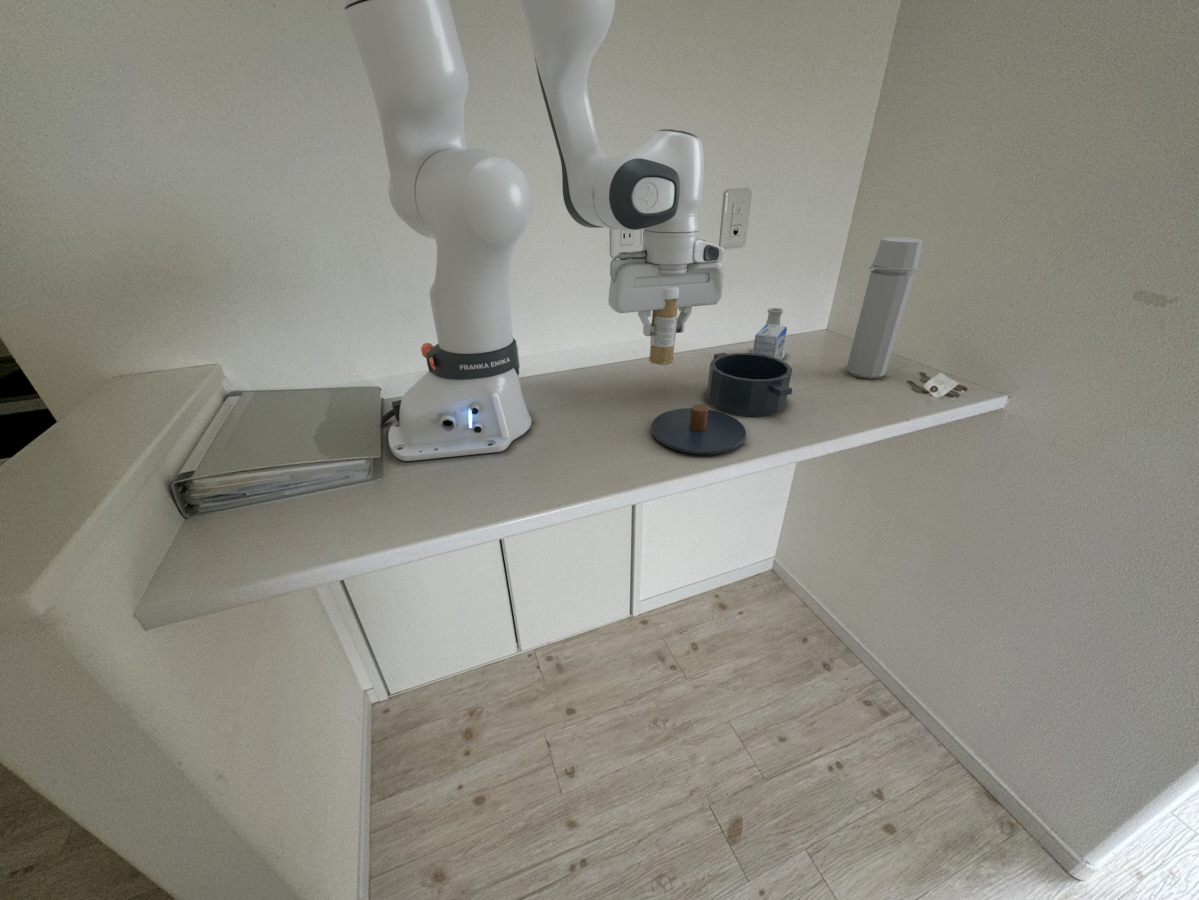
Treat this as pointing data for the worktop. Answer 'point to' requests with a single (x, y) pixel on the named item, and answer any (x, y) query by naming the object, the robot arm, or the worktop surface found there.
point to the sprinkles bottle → (664, 329)
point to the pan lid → (698, 430)
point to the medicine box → (770, 341)
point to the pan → (748, 384)
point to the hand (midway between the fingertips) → (663, 333)
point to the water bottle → (883, 306)
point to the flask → (774, 319)
